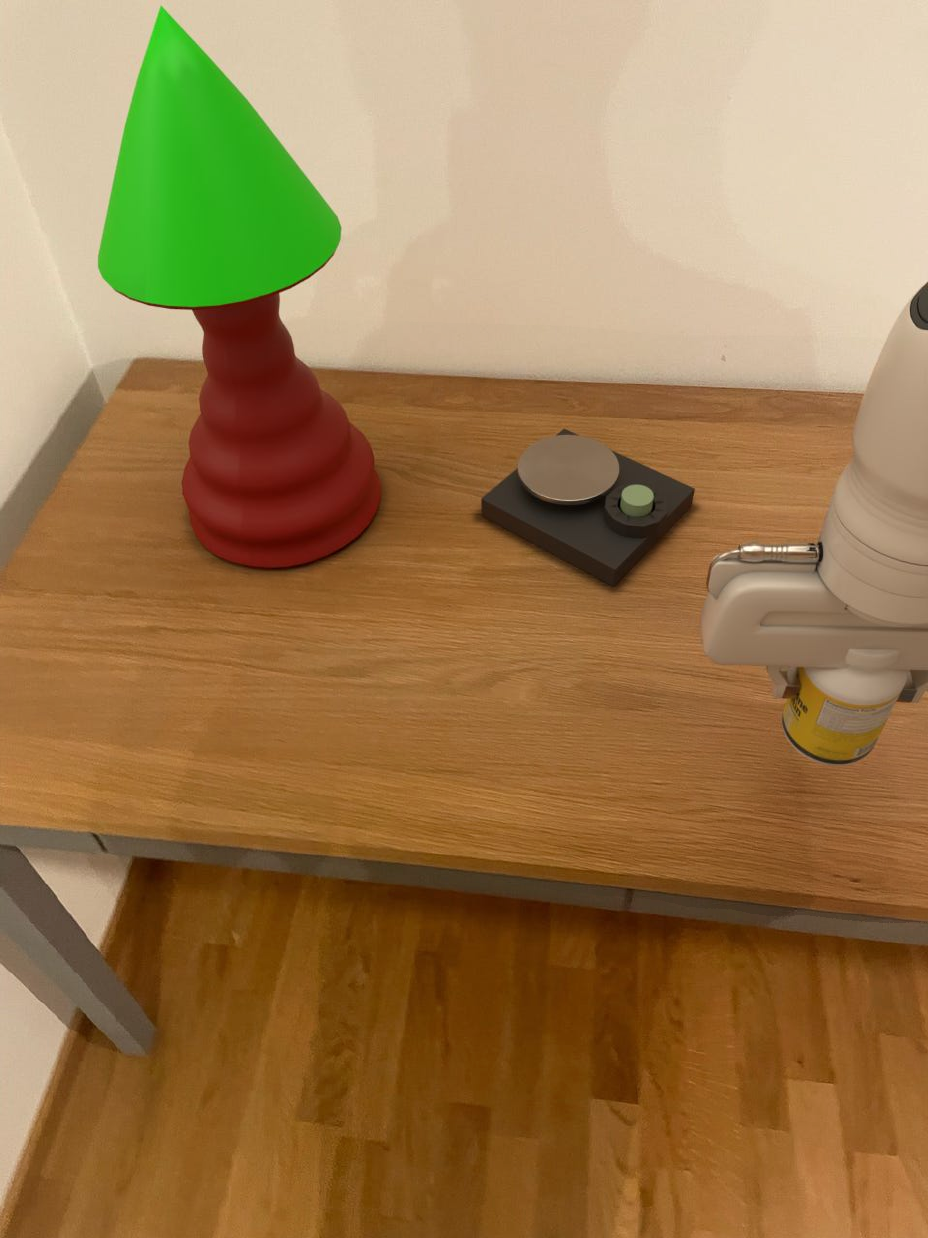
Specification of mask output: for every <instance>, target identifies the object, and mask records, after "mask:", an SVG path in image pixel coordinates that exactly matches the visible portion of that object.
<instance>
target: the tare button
mask: <svg viewBox="0 0 928 1238" xmlns="http://www.w3.org/2000/svg"><path fill="white" fill-rule="evenodd" d="M653 498H654V495H653V492H652V491H651V490H650V489H649V488H648V487H646V486H643V485H630V486H628V487H626V488H625V489H624V490H623V491H622V495H621V504H620V507H621V510H622V511H623V512H624V513H625V514H626V515H628V516H631V517H644V516H646V515H648V514H649V513H650V512H651V510H652V505H653Z"/></svg>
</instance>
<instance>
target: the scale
mask: <svg viewBox="0 0 928 1238" xmlns="http://www.w3.org/2000/svg"><path fill="white" fill-rule="evenodd" d="M558 435H577V436H581V435H580V434H577V433H576V432H573V431H571V430H569V429H567V428H562V430H560V431H559V432H558V433H557V434H556V435H555V436H558ZM610 450H611V451H612V452H613V453H614V455H615V456H616V458H617V460H618V463H619V477H618V480H617V483H616V484H615V486H614V487H613V489H612V490H611V491H610V492H609V493H607V494H606V495H605V496H603V497H601V498H599V499H597V500H595V501H592V502H589V503H584V504H578V505H561V504H554V503H550V502H547V501H544V500H541V499H539V498H537V497H535V496H534V495H532V494H531V493H529V492H528V491H527V490H526V489H525V488H524V487H523V485H522V484H521V482H520V480H519V477H518V467H516V469H514V470H513V471H512V472H511V473H510V474H508V475H507V476H506V477H505V478H504V479H503V480H501V481H500V482H499V483H497V485H495V486H494V487H492V489H490V490H489V491H488V492H487V493H486V494H485V495H483V496H482V497H481V498H480V502H481V517H483V518H485V519H487V520H489V521H490V522H492V523H494V524H496V525H497V526H500V527H501V528H503V529H505V530H507V531H508V532H510V533H512V534H514V535H516V536H518V537H520V538H522V539H524V540H525V541H527V542H529V543H531V544H533V545H535V546H537V547H538V548H541V549H543V550H544V551H546V552H548V553H550V554H551V555H553V556H555V557H557V558H559V559H560V560H563V561H564V562H566V563H568V564H570V565H572V566H573V567H576V568H577V569H580V570H581V571H583V572H585V573H587V574H589V575H590V576H591V577H595V579H598V580H600V581H602V582H603V583H605V584H607V585H609V586H611V587H615V586H617V584H619V582H620V581H621V580H622V579H623V578H624V577H625V576H626V575H627V574H628V573H629V572H630V571H631V570H632V568H634V567H635V565H636V564H638V562H639V561H641V559H642V558H643V557H645V555H646V554H647V553H648V552H649V551H650V550H651V549H652V548H653V547H654V546H655V545H656V544H657V543H658V542H659V541H660V540H661V539H662V538H663V536H665V535H666V534H667V532H669V530H671V529H672V527H673V526H674V525H675V524H676V523H677V522H678V521H679V520H680V519H681V518H683V516H684V515H685V514H686V513H687V512H688V511H689V510H690V509H691V508H692V506H693V501H694V498H695V497H694V496H695V493H696V492H695V491H696V488H694V487H693V486H690V485H688V484H686V483H684V482H682V481H679V480H677V479H676V478H673V477H671V476H668V475H666V474H665V473H662V472H660V471H657V470H655V469H653V468H651V467H649V466H646V465H645V464H643V463H641V462H638V461H636V460H634V459H632V458H629V457H627V456H626V455H623V454H621V453H618V452H616V451H614V450H612V449H610ZM630 485H643V486H646V487H648V488H649V489H650V490H651V491H652V492H653V495H654V498H653V505H652V510H651V512H650V513H649V514H648V515H646V516H644V517H631V516H628V515H626V514H625V513H624V512H623V511H622V510H621V507H620V504H621V495H622V491H623V490H624V489H625V488H626V487H628V486H630Z"/></svg>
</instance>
